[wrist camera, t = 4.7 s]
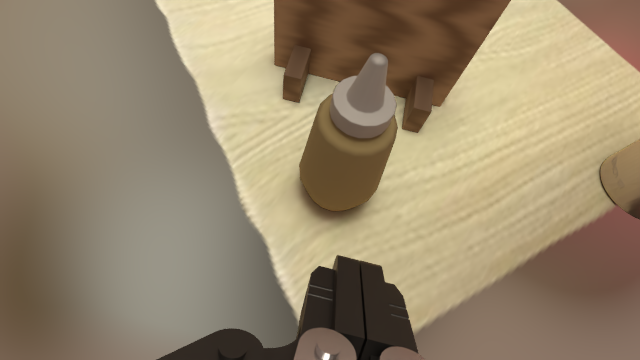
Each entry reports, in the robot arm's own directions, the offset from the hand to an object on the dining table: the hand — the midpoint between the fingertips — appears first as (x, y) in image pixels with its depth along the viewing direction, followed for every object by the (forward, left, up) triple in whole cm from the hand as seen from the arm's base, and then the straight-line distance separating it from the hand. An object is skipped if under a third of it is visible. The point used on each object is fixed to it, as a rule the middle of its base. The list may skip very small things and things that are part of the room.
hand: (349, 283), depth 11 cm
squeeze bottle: (0, -14, -21) cm, 26 cm away
